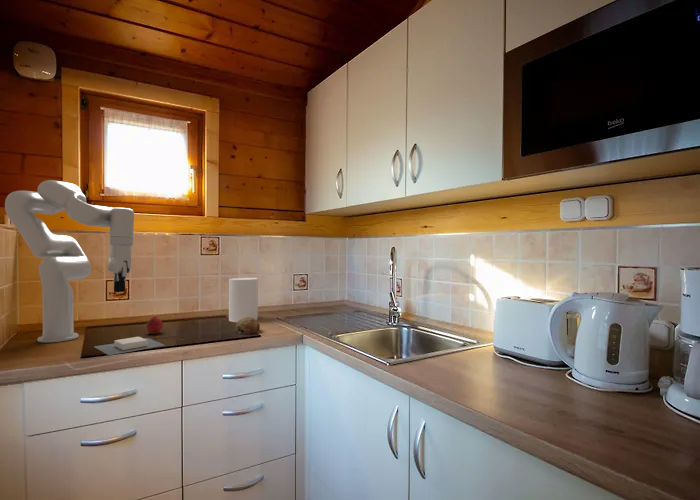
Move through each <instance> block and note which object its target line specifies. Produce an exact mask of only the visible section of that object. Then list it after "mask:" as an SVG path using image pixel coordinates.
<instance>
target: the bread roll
mask: <svg viewBox="0 0 700 500" xmlns="http://www.w3.org/2000/svg"><path fill="white" fill-rule="evenodd" d="M260 326H261V325H260V323H259V321H258V319H257V320H255V319H254V318H251V317H245V318H242V319H240V320H239V321H238V322H236V325H235V331H236V333H237V334H239V335H241V334H242V335H252V334H251V333H254V334H257V333H259V331H260V328H261V327H260Z"/></svg>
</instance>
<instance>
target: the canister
mask: <svg viewBox="0 0 700 500" xmlns="http://www.w3.org/2000/svg"><path fill="white" fill-rule="evenodd" d="M258 279H259V278H257V277H231V278H229V279H228V322H232V323H237V322H238V321H239V320H240V319H242V318H245V317H251V318H254V319H255V320H257V321H258V316H259V315H258V310H259V309H258V308H259V307H258V304H259V303H258V302H259V301H258V300H259V296H258V287H259V286H258V284H259V283H258V281H259V280H258Z"/></svg>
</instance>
